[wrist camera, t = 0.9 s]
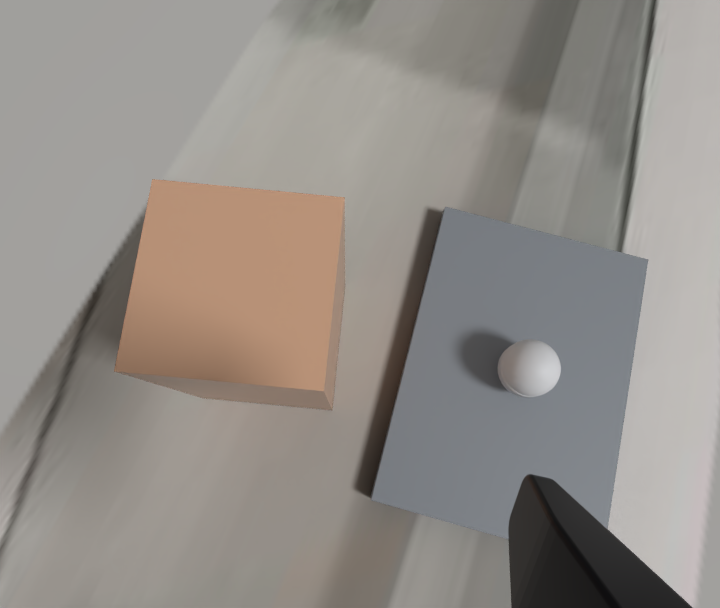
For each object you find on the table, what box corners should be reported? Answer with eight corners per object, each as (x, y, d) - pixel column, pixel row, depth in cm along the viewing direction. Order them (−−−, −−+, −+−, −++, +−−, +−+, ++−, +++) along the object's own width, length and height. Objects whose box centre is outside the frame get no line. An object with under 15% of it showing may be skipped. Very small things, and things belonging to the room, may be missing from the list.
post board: (591, 560, 24) (638, 583, 20) (370, 497, 25) (374, 508, 21) (637, 266, 28) (685, 237, 24) (441, 214, 28) (457, 178, 24)
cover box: (332, 410, 26) (323, 391, 16) (202, 398, 26) (113, 371, 16) (345, 285, 27) (344, 197, 17) (222, 273, 27) (152, 179, 17)
